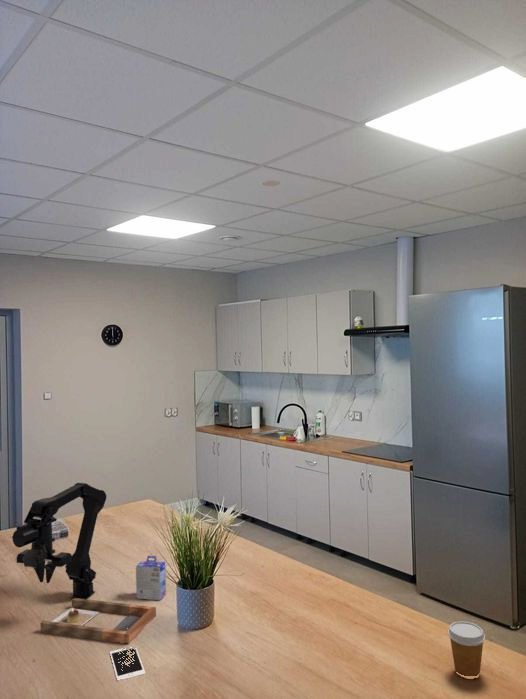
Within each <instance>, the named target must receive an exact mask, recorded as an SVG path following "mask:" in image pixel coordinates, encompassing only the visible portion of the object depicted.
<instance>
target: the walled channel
mask: <svg viewBox="0 0 526 699" xmlns="http://www.w3.org/2000/svg"><path fill="white" fill-rule="evenodd" d="M74 607H75V609H81V610H88V611H94V612H99V613H100V612H101V613H107V612H108V614H110V613H111V614H116V613H119V615H124V614H128V615H126V617H125V618H123V619H122V621H120V622H119V623H118V624H117V625H116V626H115V627H113V629H109V628H103V627H96V626H95V627H94V626H87V625H82V624H80V625H79V624H74V623H64V622H59V621H58V622H51V621H49V620H42V621H41V622H40V632H41V633H45V634H46V633H47V634H52V635H61V636H68V637H74V638H81V639H82V638H83V639H90V640H94V641H95V640H96V641H102V642H109V643H111V642H112V643H117V642H120V643H119V644H124V643H128V644H127V645H130V644H131V643H130V642H131V641H132V640H133V639H136V637H138V636H139V634H141V632H142V631H143V630H144V629H145V628H146V627H147V626H148V625H149V624H150V623H151V622H152V621H153V620H154V619H155V618H154V617H157V607H156V606H147V605H138V604H131V603H121V602H114V601H113V602H112V601H104V600H96V599H95V600H94V599H88V598H87V599H79V598H73V599H72V598H71V608H74ZM153 618H154V619H153ZM151 620H152V621H151ZM150 621H151V622H150ZM149 622H150V623H149ZM148 623H149V624H148ZM147 624H148V625H147ZM81 625H82V626H81ZM146 625H147V626H146ZM145 626H146V627H145ZM144 627H145V628H144ZM127 628H128V629H127ZM143 628H144V629H143ZM141 630H142V631H141ZM133 641H134V640H133ZM133 641H132V642H133ZM129 643H130V644H129Z"/></svg>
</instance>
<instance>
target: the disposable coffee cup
mask: <svg viewBox="0 0 526 699" xmlns="http://www.w3.org/2000/svg"><path fill="white" fill-rule="evenodd" d="M447 633H448V636H449V638H450V645H451V651H452V652H451V653H452V657H453V659H452V660H453V664H454V671H455V670H456V672H458V673H459V674H461V675H464V676H477V675H478V674H479V673H480V674H481V667H482V656H483V647H484V642H485V640H486V634H485V633H484V630H483V629H482V628H481V627H480V626H479V625H478V624H476V623H473V622H469V621H455V622H452V623H451V624H450V625H449V628H448V630H447ZM456 672H455V673H456Z"/></svg>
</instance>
